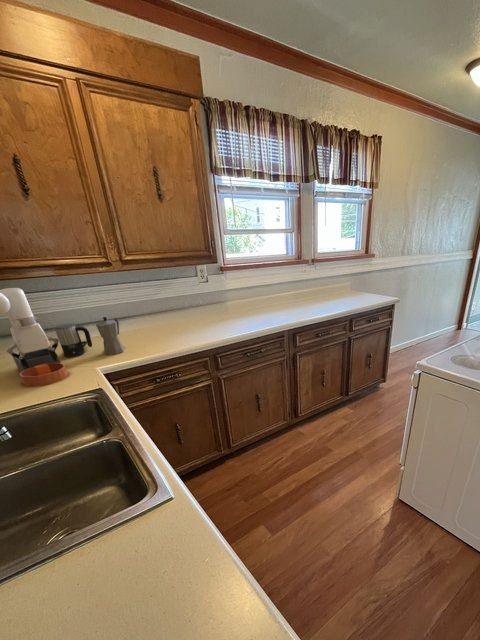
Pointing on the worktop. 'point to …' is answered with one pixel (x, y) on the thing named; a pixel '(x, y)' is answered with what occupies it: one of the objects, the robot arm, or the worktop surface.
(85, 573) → the worktop surface
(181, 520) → the worktop surface
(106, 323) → the coffeepot
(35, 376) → the bowl
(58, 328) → the milk frother
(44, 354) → the bin
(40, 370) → the block
